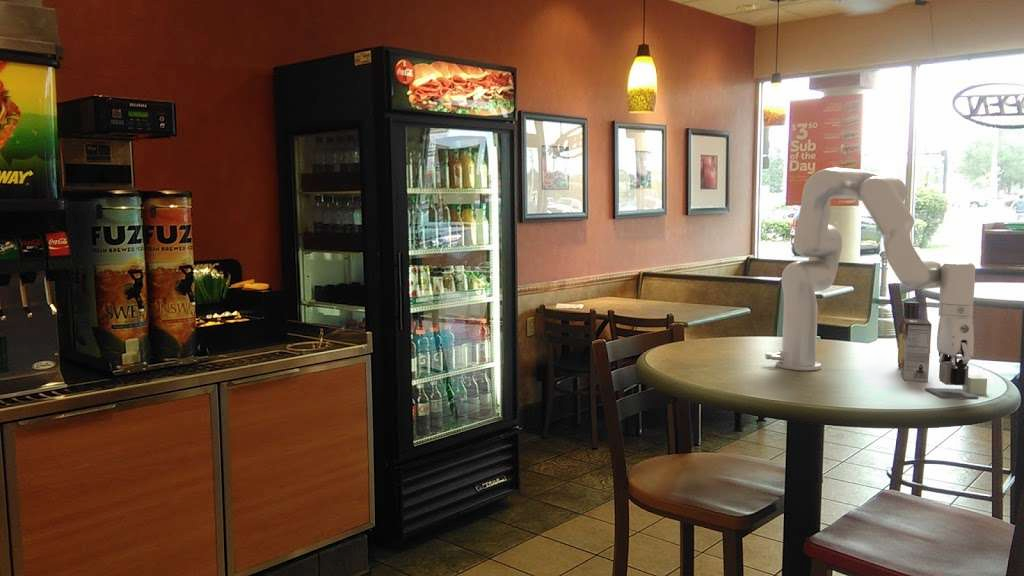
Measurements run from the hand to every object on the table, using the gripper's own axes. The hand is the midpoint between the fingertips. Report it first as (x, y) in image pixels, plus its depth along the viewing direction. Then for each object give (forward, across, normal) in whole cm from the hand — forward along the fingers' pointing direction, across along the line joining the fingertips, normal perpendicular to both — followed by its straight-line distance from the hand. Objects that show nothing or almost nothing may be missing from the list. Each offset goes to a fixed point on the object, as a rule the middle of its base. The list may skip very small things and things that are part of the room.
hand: (951, 380), depth 203 cm
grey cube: (+1, 0, 0) cm, 1 cm away
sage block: (+4, +4, -8) cm, 9 cm away
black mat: (+3, 0, 0) cm, 3 cm away
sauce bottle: (+4, +33, -4) cm, 33 cm away
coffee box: (+4, +20, 0) cm, 20 cm away
